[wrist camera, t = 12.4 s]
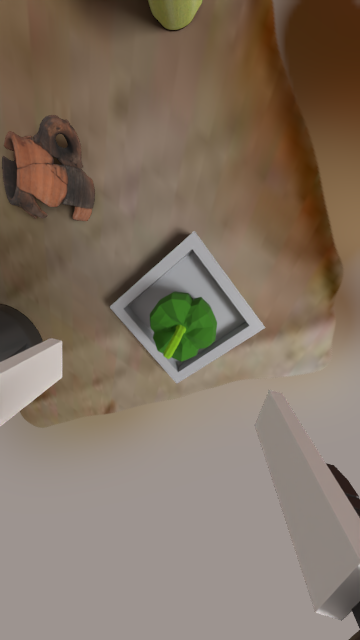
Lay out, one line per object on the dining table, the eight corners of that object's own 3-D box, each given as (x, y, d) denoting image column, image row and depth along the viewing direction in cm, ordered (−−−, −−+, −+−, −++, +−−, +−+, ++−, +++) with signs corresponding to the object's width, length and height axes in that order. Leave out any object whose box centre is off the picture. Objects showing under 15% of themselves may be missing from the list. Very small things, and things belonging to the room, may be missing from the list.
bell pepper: (189, 274, 27) (182, 279, 17) (224, 317, 28) (235, 345, 18) (148, 310, 29) (121, 331, 19) (182, 348, 30) (172, 386, 20)
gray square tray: (179, 373, 33) (176, 383, 30) (118, 303, 30) (109, 306, 27) (259, 321, 28) (265, 327, 25) (195, 234, 26) (194, 230, 23)
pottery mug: (85, 242, 29) (16, 228, 22) (63, 207, 32) (-4, 185, 25) (115, 158, 22) (30, 103, 16) (84, 124, 25) (1, 65, 19)
